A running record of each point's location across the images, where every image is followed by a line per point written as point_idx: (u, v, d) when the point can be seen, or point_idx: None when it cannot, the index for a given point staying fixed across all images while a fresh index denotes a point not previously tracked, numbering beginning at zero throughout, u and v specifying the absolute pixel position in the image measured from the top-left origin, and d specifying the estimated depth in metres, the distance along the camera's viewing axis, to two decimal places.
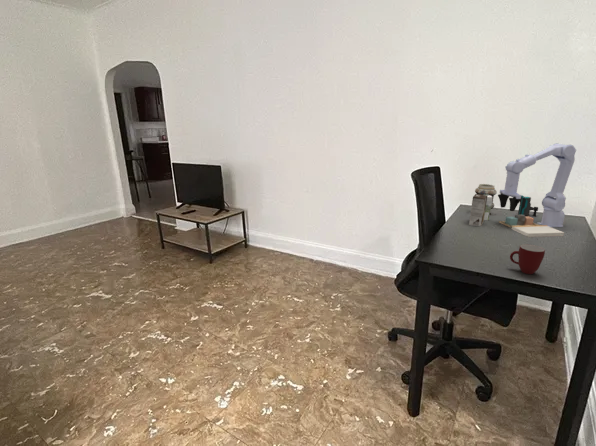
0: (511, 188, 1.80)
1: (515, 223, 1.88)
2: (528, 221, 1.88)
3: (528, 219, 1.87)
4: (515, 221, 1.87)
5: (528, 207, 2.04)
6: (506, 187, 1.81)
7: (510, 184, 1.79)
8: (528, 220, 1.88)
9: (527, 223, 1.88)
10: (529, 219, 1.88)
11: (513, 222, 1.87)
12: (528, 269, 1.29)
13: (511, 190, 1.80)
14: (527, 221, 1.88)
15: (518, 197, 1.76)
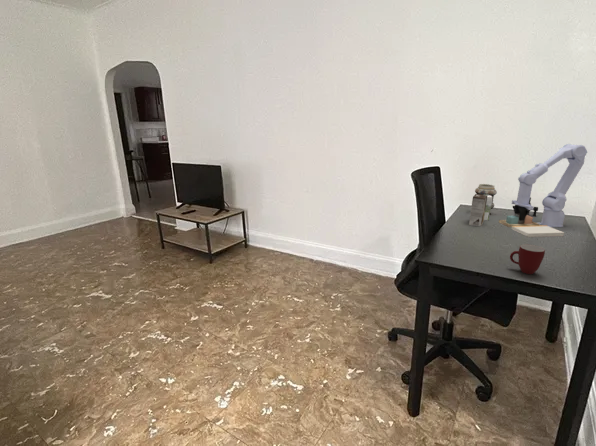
0: (523, 199, 1.84)
1: (516, 222, 1.88)
2: (527, 219, 1.88)
3: (527, 218, 1.87)
4: (516, 220, 1.87)
5: None
6: (518, 198, 1.85)
7: (522, 195, 1.84)
8: (527, 219, 1.88)
9: (526, 222, 1.88)
10: (528, 218, 1.87)
11: (514, 221, 1.87)
12: (528, 269, 1.29)
13: (524, 201, 1.84)
14: (526, 220, 1.88)
15: (530, 208, 1.80)
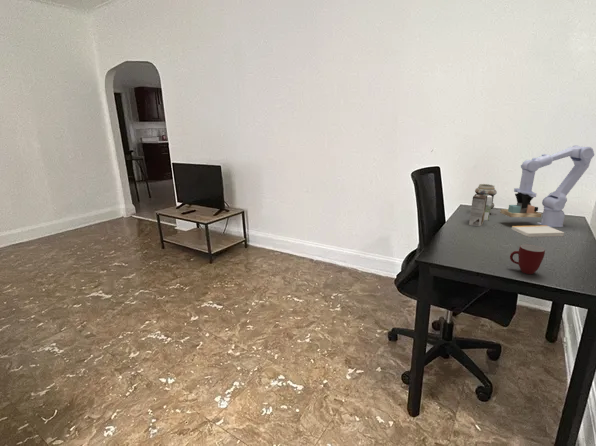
0: (526, 186, 1.81)
1: (518, 211, 1.86)
2: (529, 209, 1.86)
3: (529, 207, 1.85)
4: (518, 209, 1.85)
5: None
6: (521, 185, 1.83)
7: (525, 182, 1.81)
8: (529, 208, 1.86)
9: (528, 212, 1.86)
10: (530, 207, 1.85)
11: (516, 210, 1.85)
12: (528, 269, 1.29)
13: (526, 189, 1.82)
14: (528, 209, 1.86)
15: (533, 195, 1.78)
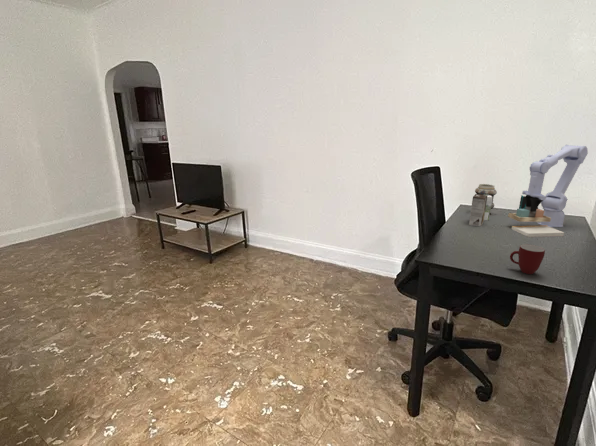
0: (535, 189, 1.75)
1: (526, 216, 1.79)
2: (538, 213, 1.79)
3: (538, 211, 1.79)
4: (527, 213, 1.79)
5: None
6: (530, 188, 1.77)
7: (537, 185, 1.74)
8: (538, 212, 1.79)
9: (537, 216, 1.80)
10: (539, 211, 1.79)
11: (525, 214, 1.79)
12: (528, 269, 1.29)
13: (536, 191, 1.75)
14: (537, 213, 1.79)
15: (543, 198, 1.71)
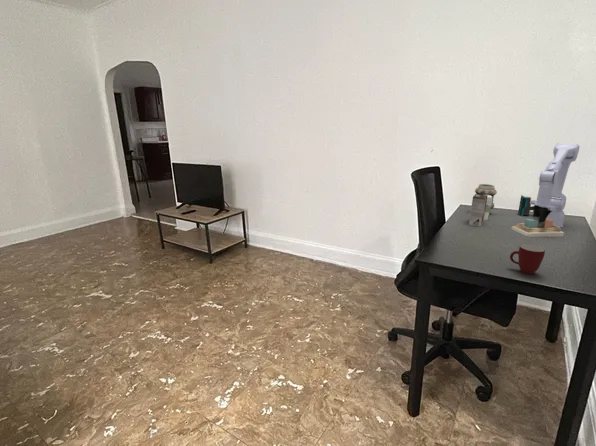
0: (544, 199, 1.69)
1: (535, 226, 1.74)
2: (547, 223, 1.74)
3: (547, 221, 1.73)
4: (535, 224, 1.73)
5: (528, 207, 2.04)
6: (539, 198, 1.71)
7: (548, 195, 1.68)
8: (548, 222, 1.74)
9: (546, 226, 1.74)
10: (548, 221, 1.73)
11: (533, 225, 1.73)
12: (528, 269, 1.29)
13: (545, 201, 1.69)
14: (546, 224, 1.74)
15: (552, 209, 1.66)
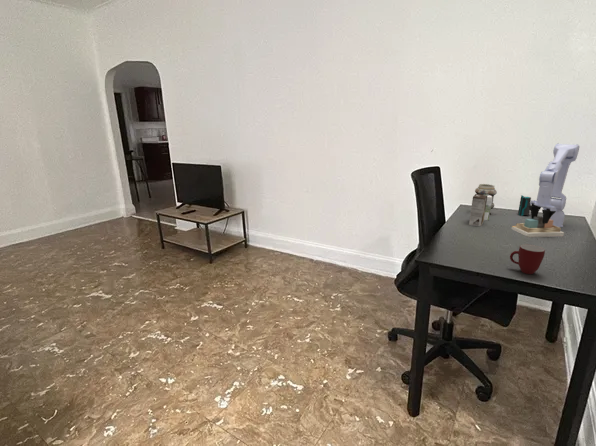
0: (544, 199, 1.69)
1: (535, 226, 1.74)
2: (547, 223, 1.74)
3: None
4: (535, 224, 1.73)
5: (528, 207, 2.04)
6: (539, 198, 1.71)
7: (548, 195, 1.68)
8: (548, 222, 1.74)
9: (546, 226, 1.74)
10: (548, 221, 1.73)
11: (533, 225, 1.73)
12: (528, 269, 1.29)
13: (545, 201, 1.69)
14: (546, 224, 1.74)
15: (552, 209, 1.66)
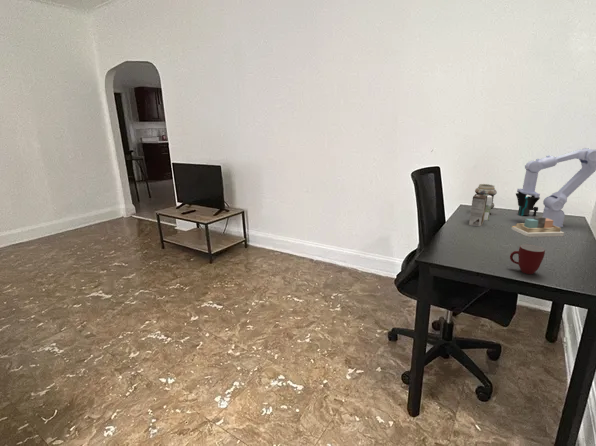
0: (530, 187, 1.84)
1: (535, 226, 1.74)
2: (547, 223, 1.74)
3: (547, 221, 1.73)
4: (535, 224, 1.73)
5: None
6: (524, 186, 1.86)
7: (527, 183, 1.84)
8: (548, 222, 1.74)
9: (546, 226, 1.74)
10: (548, 221, 1.73)
11: (533, 225, 1.73)
12: (528, 269, 1.29)
13: (530, 189, 1.84)
14: (546, 224, 1.74)
15: (537, 196, 1.80)
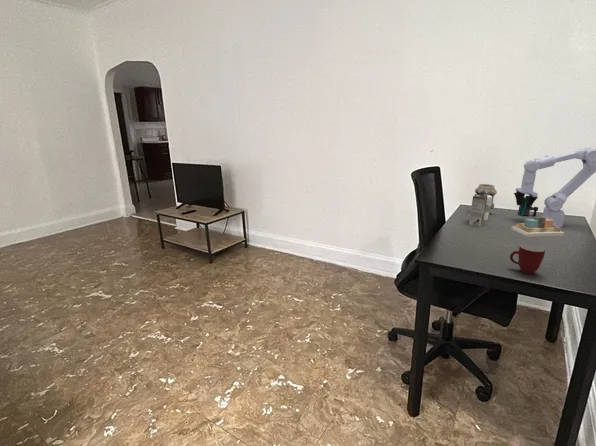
0: (528, 186, 1.86)
1: (535, 226, 1.74)
2: (547, 223, 1.74)
3: (547, 221, 1.73)
4: (535, 224, 1.73)
5: None
6: (523, 185, 1.88)
7: (524, 182, 1.87)
8: (548, 222, 1.74)
9: (546, 226, 1.74)
10: (548, 221, 1.73)
11: (533, 225, 1.73)
12: (528, 269, 1.29)
13: (528, 188, 1.86)
14: (546, 224, 1.74)
15: (535, 195, 1.82)
